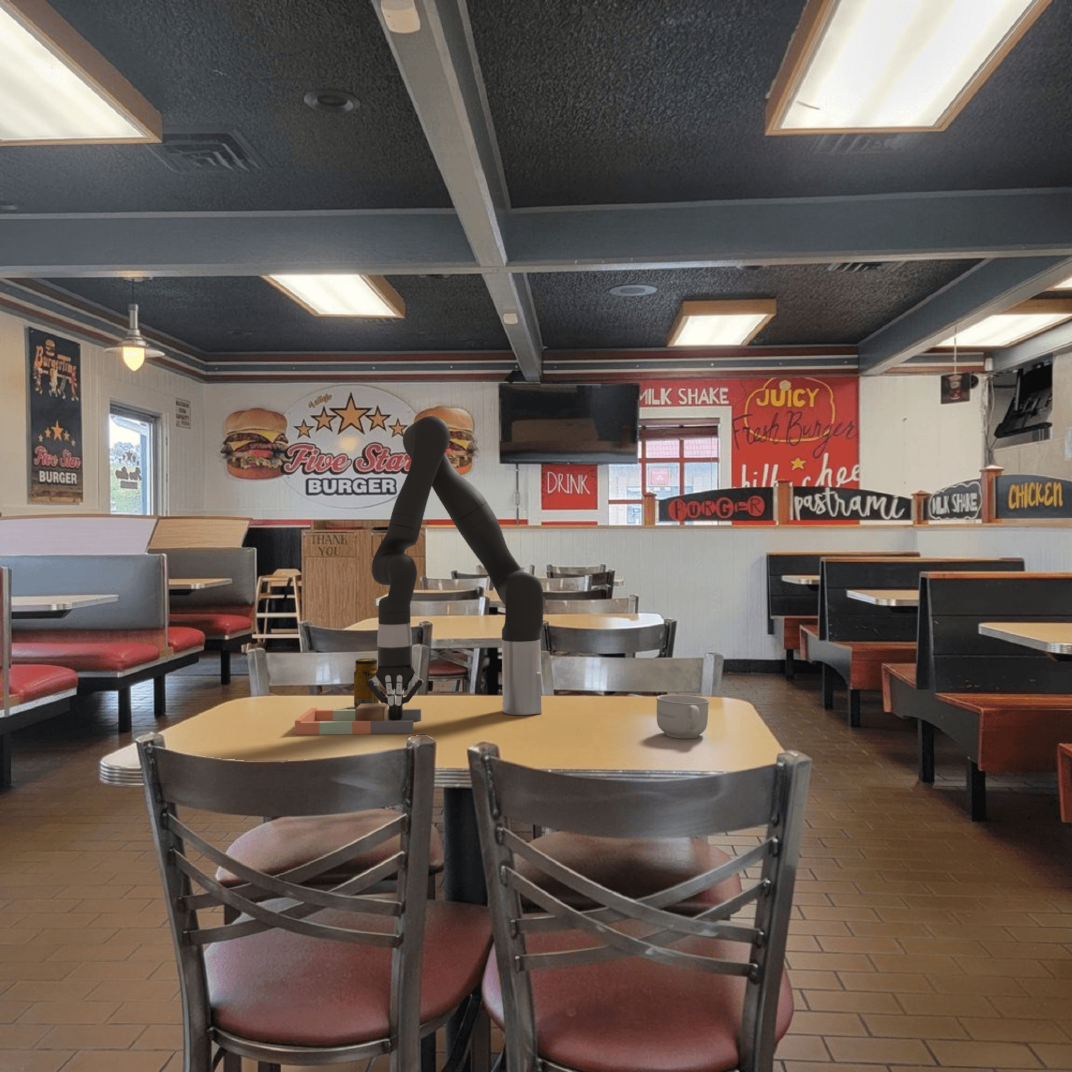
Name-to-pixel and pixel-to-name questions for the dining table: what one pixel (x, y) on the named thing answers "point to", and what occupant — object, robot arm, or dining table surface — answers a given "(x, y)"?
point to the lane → (352, 723)
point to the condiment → (364, 682)
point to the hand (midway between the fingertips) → (395, 721)
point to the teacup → (682, 715)
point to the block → (372, 712)
